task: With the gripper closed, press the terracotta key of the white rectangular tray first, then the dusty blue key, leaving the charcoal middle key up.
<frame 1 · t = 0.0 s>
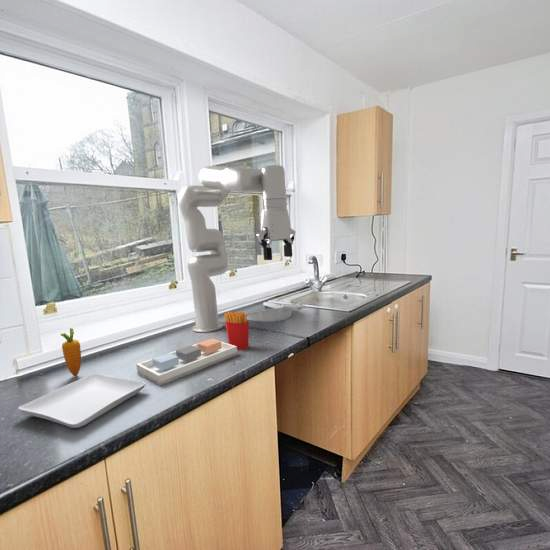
hand: (278, 258, 114), 31 cm above the worktop, fingers open, 9 cm apart
carrot: (75, 377, 107), on the worktop
dusty blue key: (165, 361, 105), point 4 cm above the worktop, slide at 0.0 cm
french fries: (238, 347, 124), on the worktop
charcoal key: (188, 353, 111), point 4 cm above the worktop, slide at 0.0 cm
terracotta key: (209, 346, 116), point 3 cm above the worktop, slide at 0.0 cm
white rectangular tray: (189, 363, 111), on the worktop
salad plate: (87, 407, 88), on the worktop
frying pan: (280, 320, 157), on the worktop
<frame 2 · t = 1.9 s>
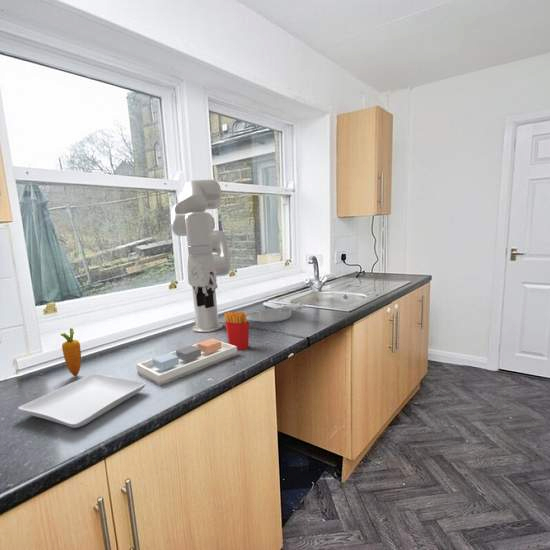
hand: (205, 305, 114), 17 cm above the worktop, fingers open, 3 cm apart
nothing on the worktop moved.
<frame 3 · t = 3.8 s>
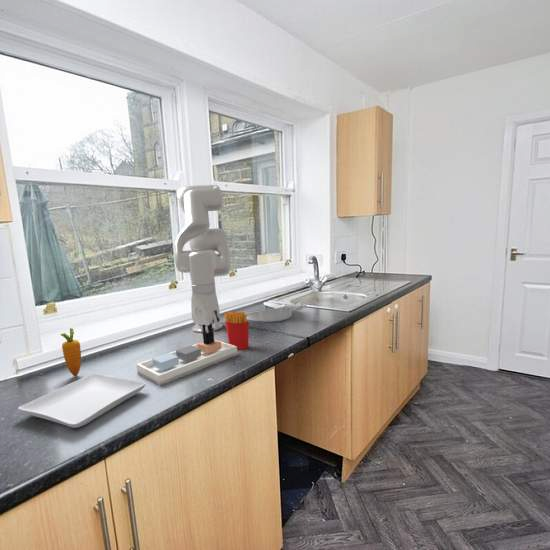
hand: (209, 342, 116), 5 cm above the worktop, fingers closed
terracotta key: (209, 346, 116), point 3 cm above the worktop, slide at 0.1 cm, touching gripper
everything else where it was.
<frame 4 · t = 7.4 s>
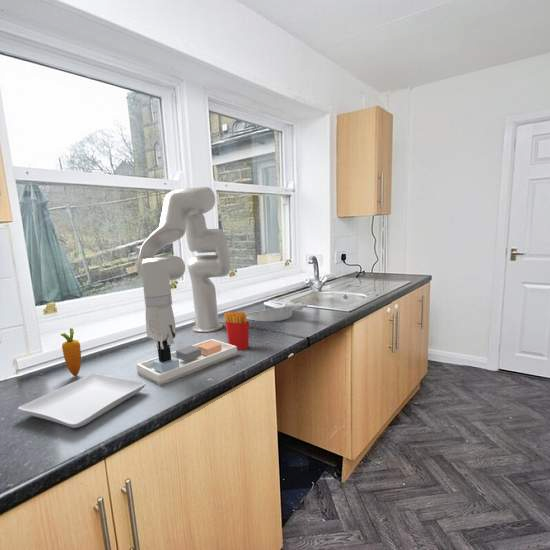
hand: (165, 360, 105), 4 cm above the worktop, fingers closed
dusty blue key: (165, 363, 105), point 3 cm above the worktop, slide at 0.8 cm, touching gripper
terracotta key: (209, 348, 116), point 3 cm above the worktop, slide at 0.9 cm
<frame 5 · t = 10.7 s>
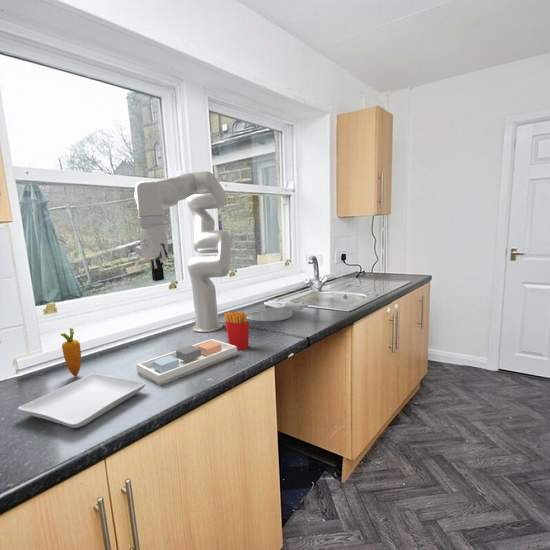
hand: (158, 280, 111), 27 cm above the worktop, fingers closed
dusty blue key: (166, 364, 105), point 3 cm above the worktop, slide at 0.9 cm
at the end: terracotta key slide at 0.9 cm; dusty blue key slide at 0.9 cm; charcoal key slide at 0.0 cm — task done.
